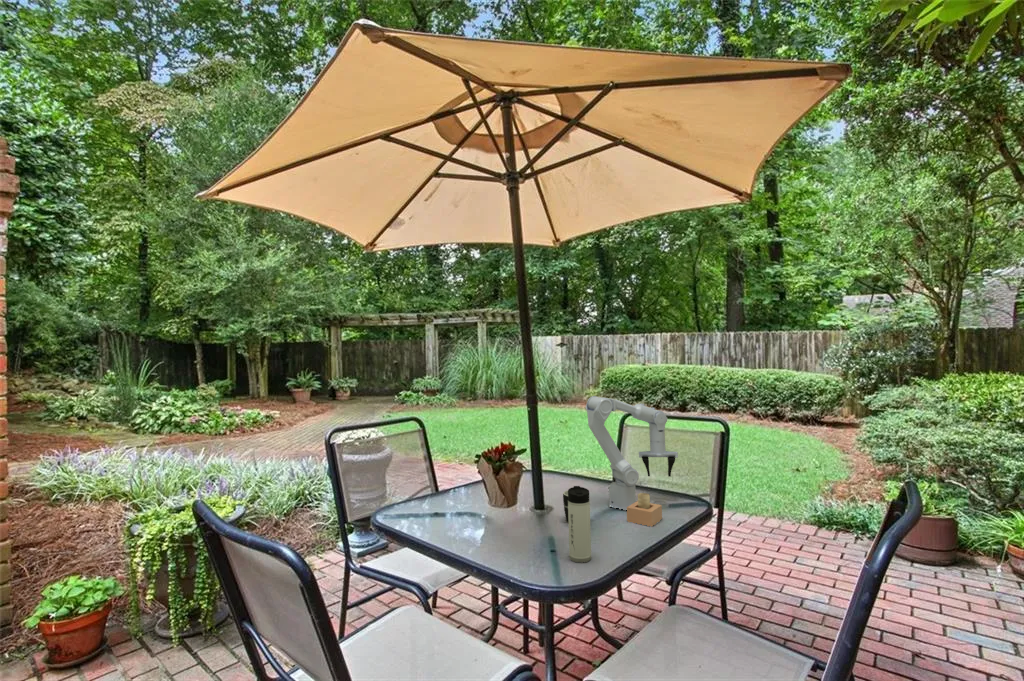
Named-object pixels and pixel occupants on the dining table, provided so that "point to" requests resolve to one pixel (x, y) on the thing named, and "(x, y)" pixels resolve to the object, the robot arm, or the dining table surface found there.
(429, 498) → the dining table surface
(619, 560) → the dining table surface
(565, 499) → the mug
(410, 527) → the dining table surface
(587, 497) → the travel mug
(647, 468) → the robot arm
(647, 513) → the socket block
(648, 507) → the peg
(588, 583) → the dining table surface
